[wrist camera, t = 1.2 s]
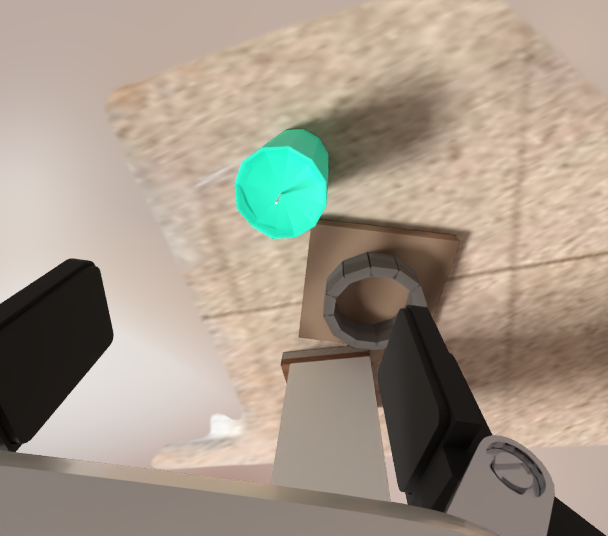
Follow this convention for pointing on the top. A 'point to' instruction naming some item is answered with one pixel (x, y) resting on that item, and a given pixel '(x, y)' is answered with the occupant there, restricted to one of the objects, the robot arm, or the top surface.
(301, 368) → the tall banded pillar
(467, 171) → the top surface
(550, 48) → the top surface
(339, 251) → the candle stand
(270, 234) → the candle
